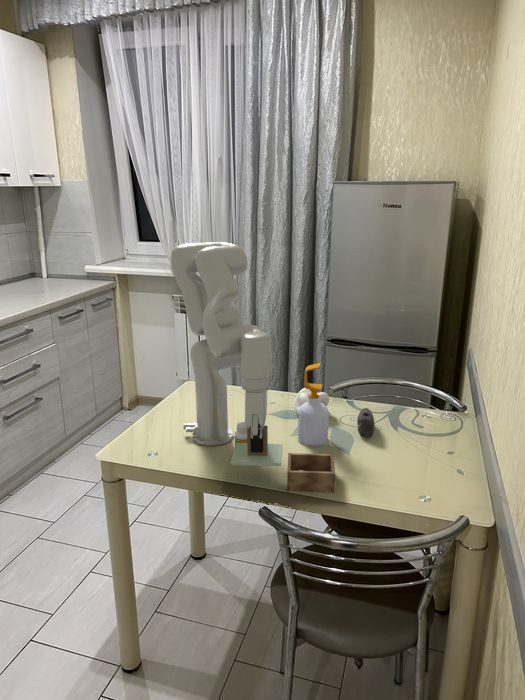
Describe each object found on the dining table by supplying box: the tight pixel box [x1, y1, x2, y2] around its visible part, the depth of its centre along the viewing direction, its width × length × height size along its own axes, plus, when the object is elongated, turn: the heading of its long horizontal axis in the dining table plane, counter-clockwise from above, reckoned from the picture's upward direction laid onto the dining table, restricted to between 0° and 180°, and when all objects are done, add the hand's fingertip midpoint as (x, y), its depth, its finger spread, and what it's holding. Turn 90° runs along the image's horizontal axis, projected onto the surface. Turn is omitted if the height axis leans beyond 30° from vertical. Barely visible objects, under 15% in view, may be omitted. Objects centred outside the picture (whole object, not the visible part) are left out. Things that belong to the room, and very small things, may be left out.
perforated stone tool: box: [357, 407, 375, 439], centre depth 168 cm, size 15×5×7 cm, turn 169°
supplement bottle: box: [234, 421, 247, 446], centre depth 152 cm, size 5×5×10 cm
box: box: [286, 452, 336, 494], centre depth 138 cm, size 12×10×6 cm
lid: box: [230, 425, 284, 467], centre depth 136 cm, size 13×11×8 cm
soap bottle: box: [297, 362, 330, 447], centre depth 159 cm, size 9×9×25 cm
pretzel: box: [293, 387, 330, 417], centre depth 179 cm, size 11×12×9 cm
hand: (257, 447), depth 137 cm, fingers closed on lid, 3 cm apart
